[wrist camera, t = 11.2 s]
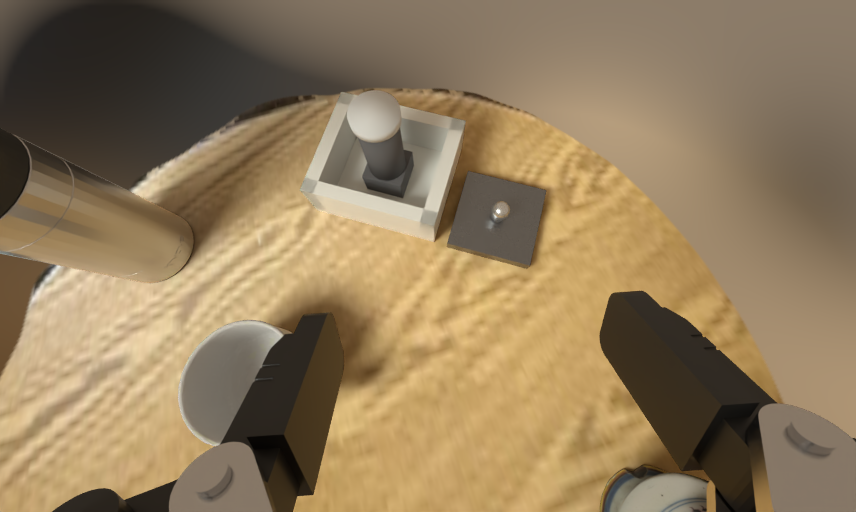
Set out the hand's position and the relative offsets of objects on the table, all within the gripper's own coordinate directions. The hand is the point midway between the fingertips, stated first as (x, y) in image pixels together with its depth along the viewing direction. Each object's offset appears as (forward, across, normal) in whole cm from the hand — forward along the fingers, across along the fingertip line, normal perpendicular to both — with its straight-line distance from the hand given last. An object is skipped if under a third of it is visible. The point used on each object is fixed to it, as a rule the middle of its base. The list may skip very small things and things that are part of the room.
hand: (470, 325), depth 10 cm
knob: (+34, +5, +5) cm, 35 cm away
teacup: (+18, +18, +23) cm, 34 cm away
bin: (+35, +5, +6) cm, 36 cm away
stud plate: (+30, -8, +10) cm, 33 cm away
